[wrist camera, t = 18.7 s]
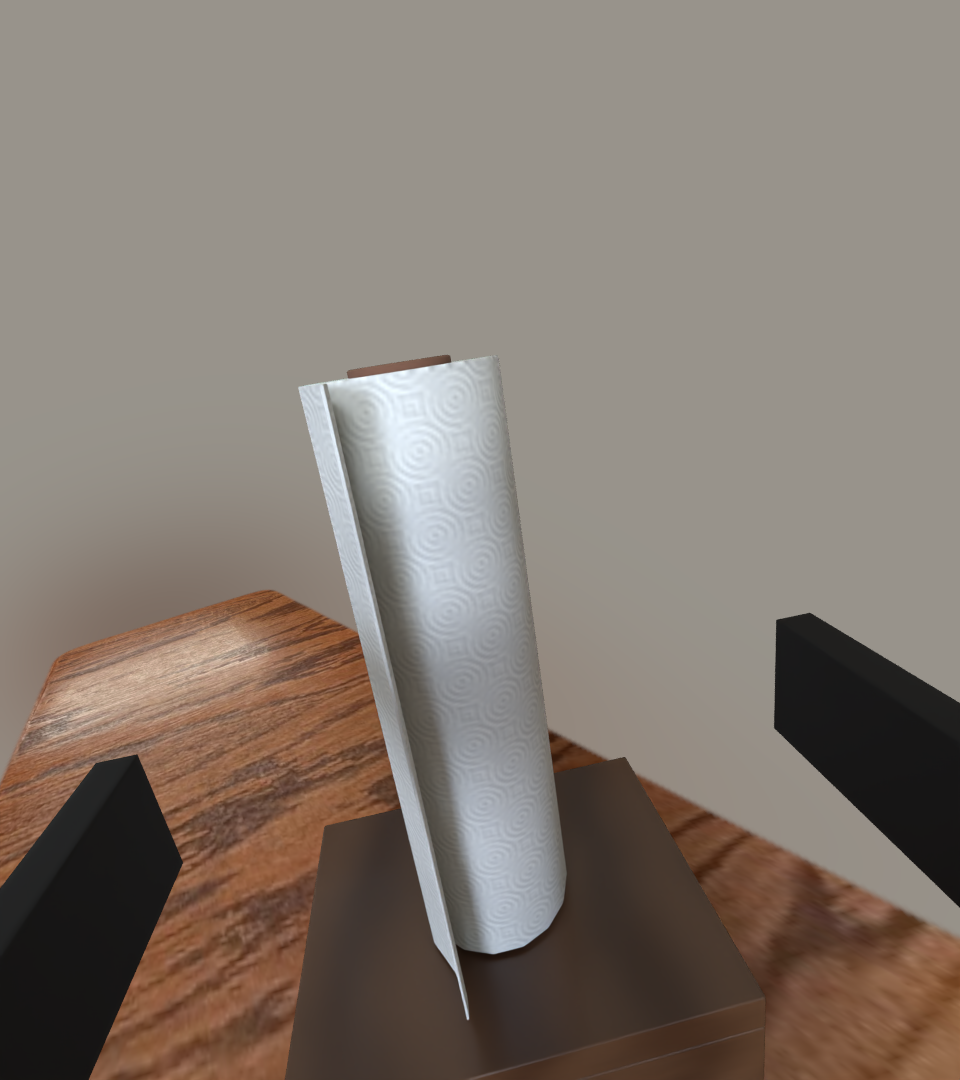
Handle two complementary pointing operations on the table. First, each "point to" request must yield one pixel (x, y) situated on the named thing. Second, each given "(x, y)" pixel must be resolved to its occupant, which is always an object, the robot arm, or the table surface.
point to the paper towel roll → (447, 637)
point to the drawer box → (528, 963)
